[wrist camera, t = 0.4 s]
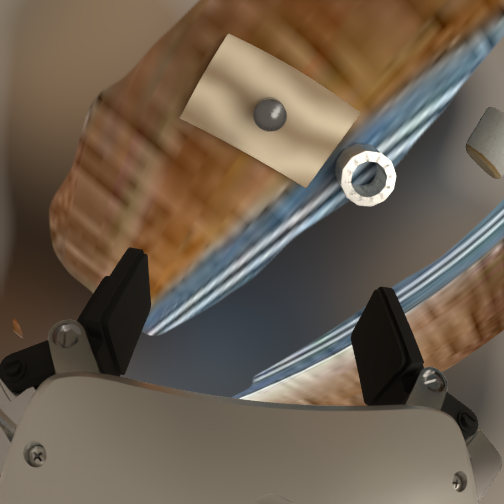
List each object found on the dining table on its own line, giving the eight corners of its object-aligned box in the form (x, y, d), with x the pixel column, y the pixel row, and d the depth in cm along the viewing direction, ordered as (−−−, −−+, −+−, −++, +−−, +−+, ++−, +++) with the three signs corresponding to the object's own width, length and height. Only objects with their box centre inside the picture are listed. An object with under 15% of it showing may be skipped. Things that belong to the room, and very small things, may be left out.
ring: (355, 133, 34) (364, 140, 30) (394, 164, 35) (405, 173, 32) (324, 175, 37) (330, 186, 34) (364, 202, 39) (372, 215, 36)
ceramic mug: (454, 142, 32) (485, 160, 26) (478, 101, 28) (512, 112, 22) (489, 181, 35) (517, 203, 28) (512, 144, 30) (542, 161, 24)
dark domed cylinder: (264, 91, 30) (264, 94, 27) (290, 106, 31) (293, 111, 27) (250, 115, 32) (247, 121, 28) (275, 129, 33) (275, 137, 29)
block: (229, 35, 28) (228, 33, 26) (357, 111, 32) (360, 112, 31) (183, 116, 34) (179, 118, 32) (304, 184, 38) (306, 188, 37)
